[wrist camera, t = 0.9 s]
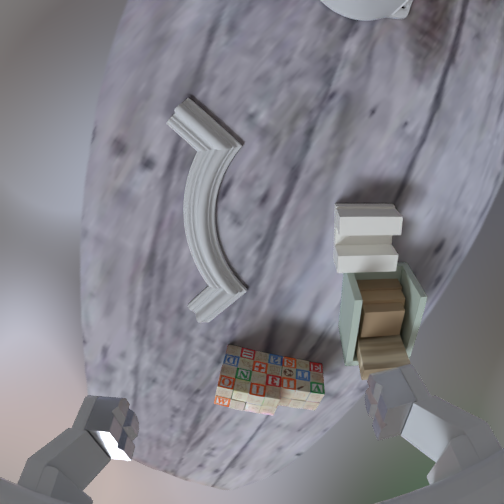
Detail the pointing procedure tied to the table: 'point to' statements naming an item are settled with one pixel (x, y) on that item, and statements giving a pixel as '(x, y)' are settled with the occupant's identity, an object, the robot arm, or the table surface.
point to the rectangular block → (380, 354)
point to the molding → (206, 206)
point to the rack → (380, 308)
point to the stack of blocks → (268, 382)
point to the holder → (365, 237)
